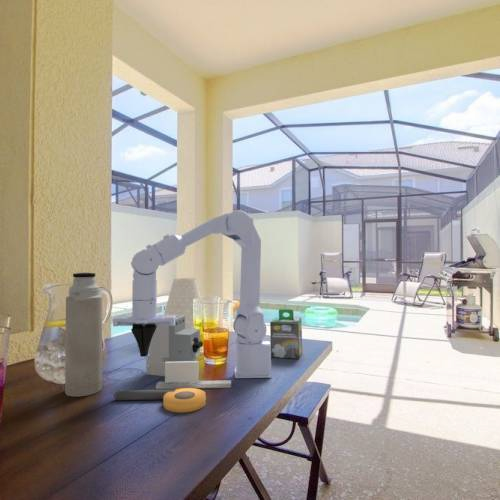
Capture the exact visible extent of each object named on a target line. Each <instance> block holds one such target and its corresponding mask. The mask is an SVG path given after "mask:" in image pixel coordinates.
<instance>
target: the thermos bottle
mask: <svg viewBox="0 0 500 500" xmlns="http://www.w3.org/2000/svg"><path fill="white" fill-rule="evenodd" d="M72 277H73V281H72V285H71V286H70V287H68V296H66V297H65V349H64V350H65V355H64V356H65V362H64V364H65V366H64V367H65V371H64V372H65V373H64V374H65V378H64V380H65V383H64V385H65V386H64V387H65V388H64V393H65V395H66V396H68V397H78V398H79V397H85V396H91V395H94V394H96V393H98V392H100V391H101V390H102V389H103V295H100V290H101V289H100V286H99V285H97V284H96V278H95V277H96V272H95V273H94V272H77V273H72Z"/></svg>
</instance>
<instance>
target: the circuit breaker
mask: <svg viewBox="0 0 500 500" xmlns="http://www.w3.org/2000/svg"><path fill="white" fill-rule="evenodd" d="M157 316H166V317H175V325H174V326H170V325H157V328H156V330H155V332H154V334H153V337H152V339H151V342H150V346H149V351H148V355H147V356H146V358H145V361H146V362H145V366H146V368H145V369H146V375H147V376H148V375H150V376H156V377H157V376H158V377H159V376H161V377H165V362H177V361H196V359H197V358H199V357H200V356H201V348H202V347H203V346H204V344H203V343H204V341H201V334H200V329H185V316H182V315H164V314H157ZM151 323H152V322H151Z"/></svg>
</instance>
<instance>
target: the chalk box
mask: <svg viewBox="0 0 500 500" xmlns="http://www.w3.org/2000/svg"><path fill="white" fill-rule="evenodd" d="M284 313H286V314H289V315H288V316H285V315H284ZM269 324H270V325H269V329H270V333H269V334H270V347H271V358H279V359H281V358H282V359H294V360H299V359H300V358H301V355H302V353H303V331H302V330H303V329H302V328H303V327H302V317H299V316H298V317H295V316H294V309H283V308H281V309H278V316H276V317H274V318H273V319H272V320H271V321H270V323H269Z"/></svg>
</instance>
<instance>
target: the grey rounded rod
mask: <svg viewBox="0 0 500 500" xmlns="http://www.w3.org/2000/svg"><path fill="white" fill-rule="evenodd" d="M174 391H176V389H136V390H135V389H132V390H131V389H129V390H116V391H115V392H114V393H113V399H115V401H139V400H140V401H142V400H143V401H147V400H151V401H152V400H163V397H164V395H165V394H166V393H168V392H174Z"/></svg>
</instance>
